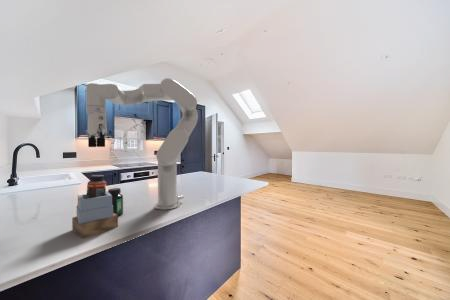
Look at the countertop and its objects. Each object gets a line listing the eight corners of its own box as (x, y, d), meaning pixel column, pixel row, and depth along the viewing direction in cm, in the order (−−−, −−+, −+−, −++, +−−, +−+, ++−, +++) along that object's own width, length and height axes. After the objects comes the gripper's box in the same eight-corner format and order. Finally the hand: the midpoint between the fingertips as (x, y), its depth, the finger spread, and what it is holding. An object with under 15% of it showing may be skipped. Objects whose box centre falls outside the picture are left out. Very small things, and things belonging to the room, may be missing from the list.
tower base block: (105, 221, 75) (105, 209, 75) (117, 227, 69) (117, 214, 69) (72, 230, 66) (72, 217, 66) (83, 239, 60) (83, 224, 60)
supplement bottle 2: (123, 216, 80) (123, 189, 80) (105, 219, 76) (105, 191, 76) (122, 211, 85) (122, 186, 85) (105, 214, 81) (105, 188, 81)
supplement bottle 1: (108, 203, 70) (110, 175, 71) (96, 208, 64) (98, 177, 65) (94, 202, 71) (96, 173, 71) (81, 206, 65) (83, 175, 65)
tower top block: (107, 209, 74) (107, 190, 74) (113, 216, 67) (113, 195, 67) (76, 216, 68) (76, 195, 67) (79, 224, 60) (79, 200, 60)
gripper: (113, 110, 82) (113, 146, 82) (97, 114, 92) (98, 147, 92) (94, 106, 76) (94, 146, 76) (80, 111, 86) (80, 147, 86)
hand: (96, 146), depth 84 cm, fingers open, 9 cm apart
